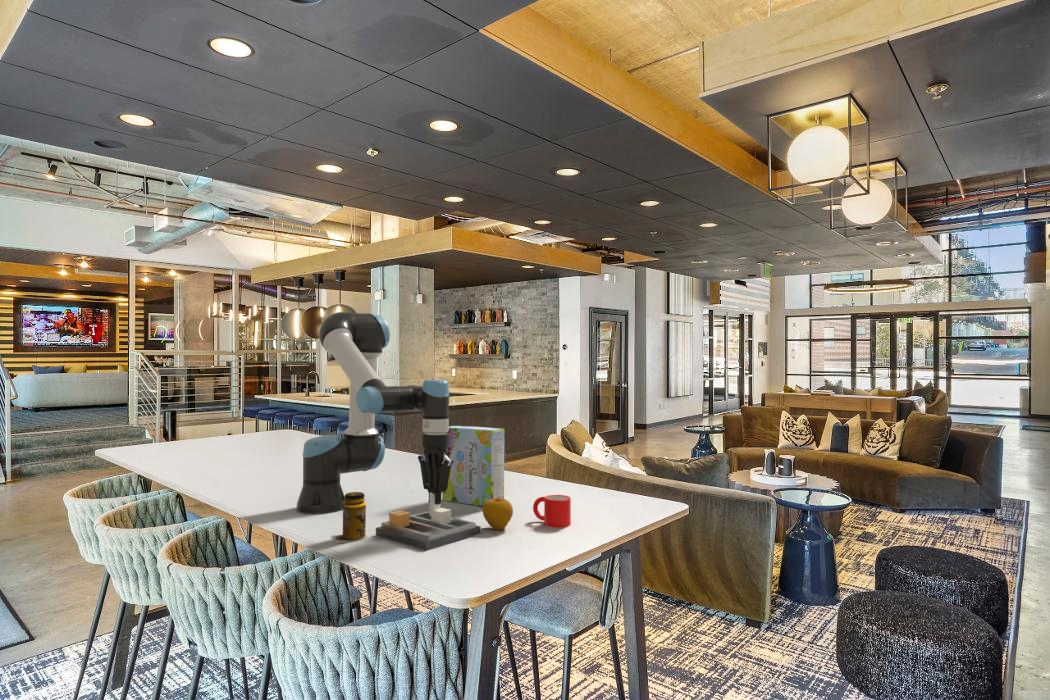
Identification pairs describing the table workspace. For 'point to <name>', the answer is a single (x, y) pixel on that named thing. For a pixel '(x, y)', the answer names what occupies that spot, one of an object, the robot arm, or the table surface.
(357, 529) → the condiment
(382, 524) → the grey slotted tray
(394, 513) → the fader orange
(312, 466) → the robot arm
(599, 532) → the table surface
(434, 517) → the block
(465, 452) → the snack box
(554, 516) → the mug
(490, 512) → the apple
